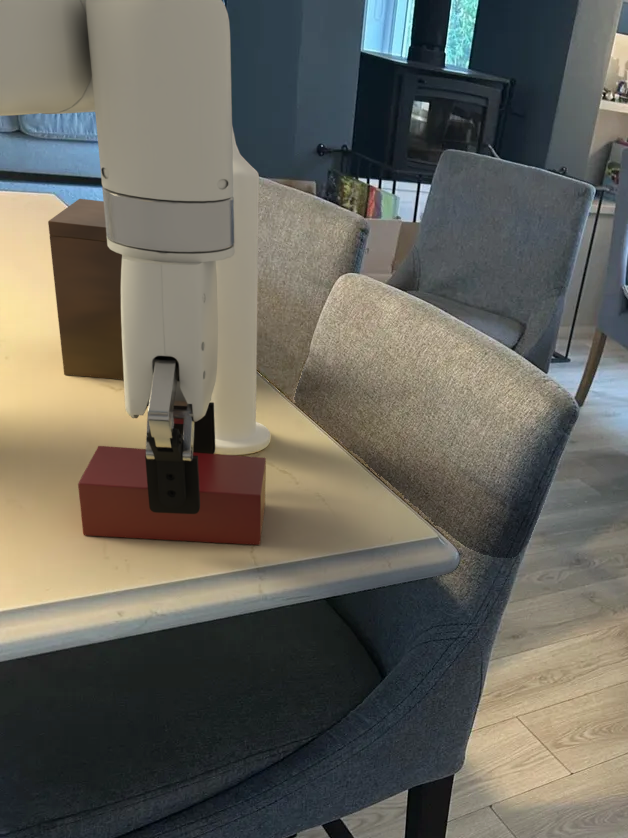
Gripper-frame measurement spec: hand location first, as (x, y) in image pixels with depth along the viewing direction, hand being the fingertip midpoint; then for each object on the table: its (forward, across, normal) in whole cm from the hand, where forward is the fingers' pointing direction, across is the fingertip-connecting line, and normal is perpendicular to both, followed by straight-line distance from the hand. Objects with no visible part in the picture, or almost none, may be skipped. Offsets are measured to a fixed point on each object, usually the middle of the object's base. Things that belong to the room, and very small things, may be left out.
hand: (184, 480), depth 63 cm
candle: (+3, -16, +2) cm, 16 cm away
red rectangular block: (+3, 0, -1) cm, 3 cm away
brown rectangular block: (+3, -34, -10) cm, 36 cm away
